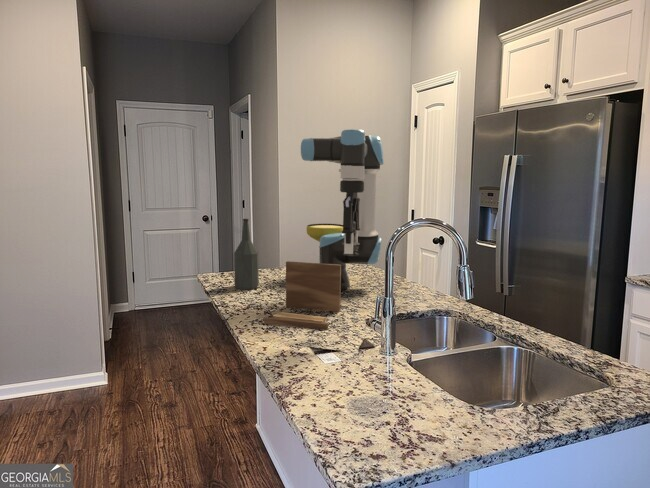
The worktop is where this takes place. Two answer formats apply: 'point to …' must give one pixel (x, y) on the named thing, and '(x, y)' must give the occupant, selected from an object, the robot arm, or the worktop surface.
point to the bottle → (246, 262)
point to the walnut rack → (311, 291)
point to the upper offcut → (300, 317)
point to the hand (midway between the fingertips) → (350, 251)
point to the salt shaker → (355, 244)
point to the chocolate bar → (364, 345)
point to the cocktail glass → (323, 230)
